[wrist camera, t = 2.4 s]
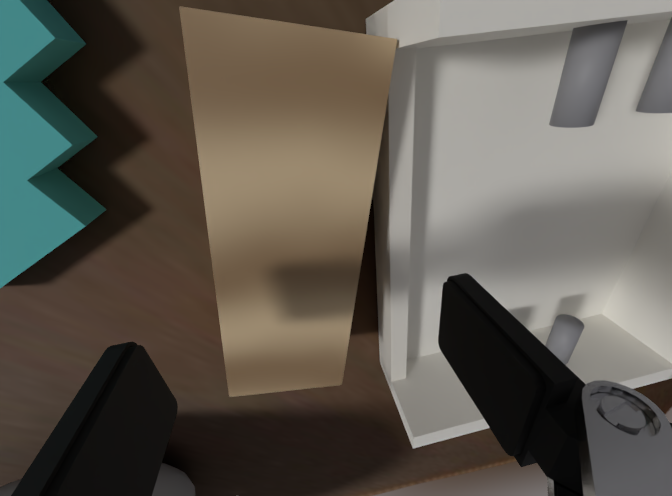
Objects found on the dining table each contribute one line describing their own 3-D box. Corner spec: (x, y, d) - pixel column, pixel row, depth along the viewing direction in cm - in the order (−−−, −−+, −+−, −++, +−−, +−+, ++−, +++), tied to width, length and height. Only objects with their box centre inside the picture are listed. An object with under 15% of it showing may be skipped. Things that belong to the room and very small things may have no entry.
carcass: (365, 18, 11) (442, -31, 6) (748, -21, 13) (1044, -83, 8) (379, 362, 22) (412, 448, 17) (593, 312, 24) (680, 375, 19)
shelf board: (208, 29, 11) (179, 6, 8) (362, 50, 12) (397, 39, 9) (237, 338, 19) (229, 396, 15) (329, 332, 20) (341, 384, 16)
